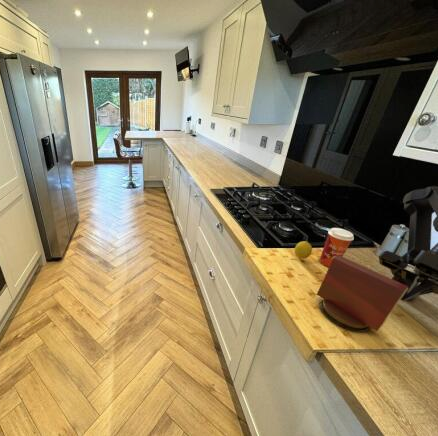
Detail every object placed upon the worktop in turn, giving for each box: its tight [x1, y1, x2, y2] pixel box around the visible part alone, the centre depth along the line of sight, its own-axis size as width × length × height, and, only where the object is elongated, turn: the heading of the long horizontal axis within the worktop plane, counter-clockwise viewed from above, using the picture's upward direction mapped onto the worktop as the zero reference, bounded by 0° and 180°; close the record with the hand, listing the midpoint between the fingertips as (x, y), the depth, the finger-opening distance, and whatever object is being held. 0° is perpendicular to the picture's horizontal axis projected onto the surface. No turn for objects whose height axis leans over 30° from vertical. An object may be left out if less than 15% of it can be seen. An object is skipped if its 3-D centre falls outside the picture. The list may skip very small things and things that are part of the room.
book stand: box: [316, 255, 408, 332], centre depth 65 cm, size 11×15×15 cm
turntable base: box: [319, 299, 370, 333], centre depth 69 cm, size 12×12×1 cm
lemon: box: [294, 240, 313, 260], centre depth 92 cm, size 6×6×8 cm
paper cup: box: [319, 227, 355, 268], centre depth 89 cm, size 8×8×14 cm
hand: (401, 299), depth 62 cm, fingers closed
